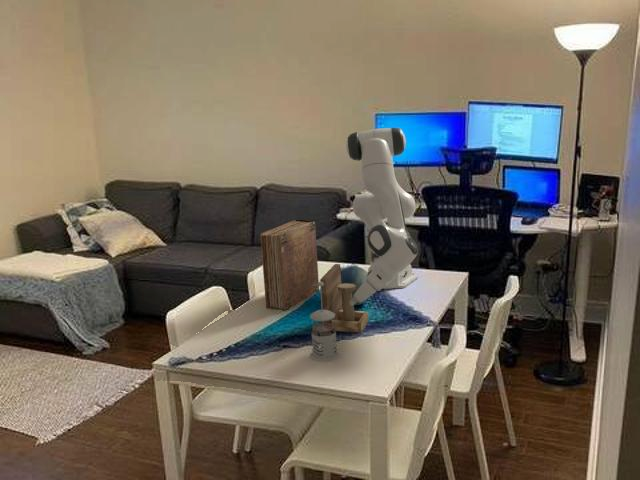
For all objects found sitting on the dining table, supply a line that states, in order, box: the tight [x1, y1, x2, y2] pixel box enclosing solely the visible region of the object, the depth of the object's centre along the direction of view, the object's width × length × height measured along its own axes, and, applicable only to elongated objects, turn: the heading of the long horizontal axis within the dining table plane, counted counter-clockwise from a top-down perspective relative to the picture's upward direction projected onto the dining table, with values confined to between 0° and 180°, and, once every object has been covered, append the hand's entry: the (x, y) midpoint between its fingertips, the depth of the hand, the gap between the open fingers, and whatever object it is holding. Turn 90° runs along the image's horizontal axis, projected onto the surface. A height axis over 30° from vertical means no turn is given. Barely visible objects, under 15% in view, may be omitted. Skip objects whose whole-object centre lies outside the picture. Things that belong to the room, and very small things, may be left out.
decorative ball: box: [341, 265, 369, 306], centre depth 254 cm, size 15×15×15 cm
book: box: [259, 219, 320, 312], centre depth 261 cm, size 25×9×30 cm, turn 149°
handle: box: [338, 283, 356, 321], centre depth 233 cm, size 5×6×15 cm
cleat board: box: [319, 263, 370, 333], centre depth 232 cm, size 13×18×20 cm
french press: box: [309, 281, 341, 363], centre depth 210 cm, size 10×12×25 cm
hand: (354, 299), depth 231 cm, fingers open, 8 cm apart
